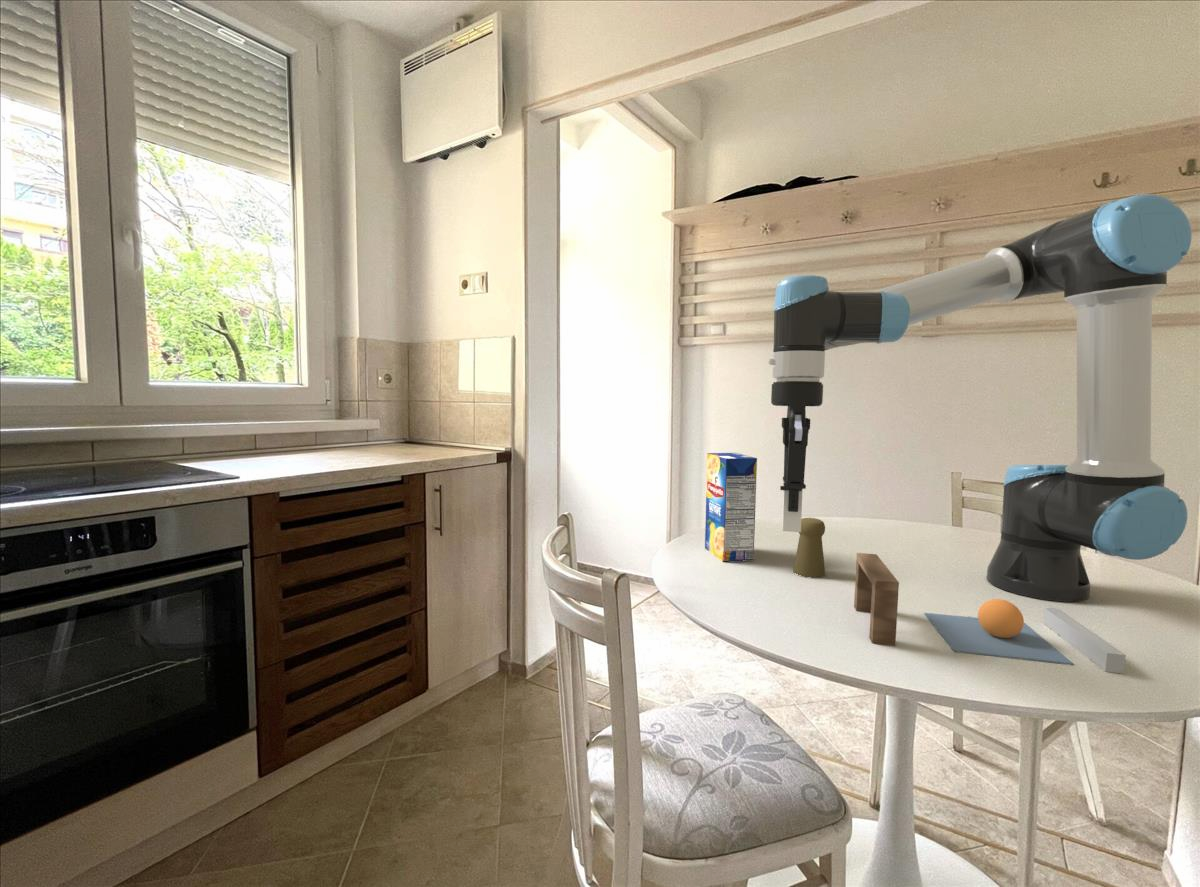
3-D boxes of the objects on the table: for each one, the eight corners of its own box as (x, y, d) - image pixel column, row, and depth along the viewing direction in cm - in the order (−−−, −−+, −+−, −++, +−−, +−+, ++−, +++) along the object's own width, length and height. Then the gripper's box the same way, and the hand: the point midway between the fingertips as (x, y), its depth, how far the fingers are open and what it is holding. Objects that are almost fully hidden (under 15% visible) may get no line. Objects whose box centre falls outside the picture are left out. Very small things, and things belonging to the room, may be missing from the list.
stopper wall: (1058, 624, 88) (1059, 609, 87) (1123, 673, 72) (1125, 655, 72) (1043, 623, 88) (1044, 607, 88) (1105, 671, 73) (1107, 652, 72)
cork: (828, 579, 108) (830, 523, 107) (795, 576, 110) (797, 521, 109) (822, 569, 114) (824, 516, 113) (791, 567, 115) (793, 514, 114)
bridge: (873, 608, 94) (876, 554, 93) (895, 645, 80) (898, 582, 79) (854, 606, 94) (856, 552, 94) (872, 643, 80) (875, 580, 80)
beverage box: (723, 562, 119) (726, 458, 117) (704, 548, 129) (707, 453, 127) (753, 560, 120) (757, 458, 118) (732, 547, 131) (735, 452, 129)
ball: (1021, 610, 85) (991, 586, 85) (1040, 626, 79) (1007, 599, 80) (993, 635, 86) (963, 611, 86) (1010, 652, 81) (978, 626, 81)
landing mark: (1023, 623, 88) (1024, 622, 88) (1073, 665, 74) (1073, 663, 74) (924, 613, 91) (924, 612, 91) (954, 651, 78) (954, 650, 78)
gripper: (770, 381, 94) (765, 520, 96) (773, 379, 82) (767, 539, 84) (818, 381, 92) (812, 523, 94) (829, 379, 80) (821, 542, 82)
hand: (791, 530), depth 89 cm, fingers closed
